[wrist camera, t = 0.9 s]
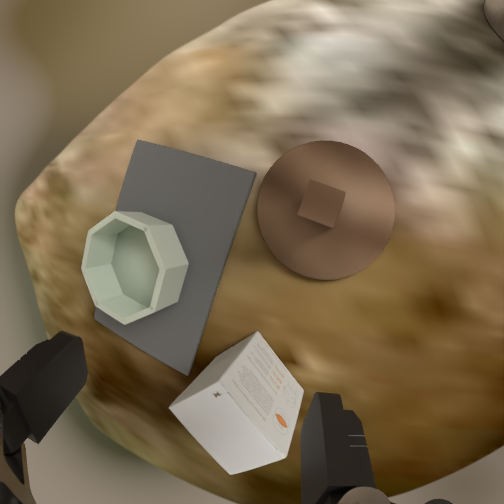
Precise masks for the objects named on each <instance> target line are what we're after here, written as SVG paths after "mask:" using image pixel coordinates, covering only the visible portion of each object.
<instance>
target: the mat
mask: <svg viewBox="0 0 504 504" xmlns="http://www.w3.org/2000/svg"><path fill="white" fill-rule="evenodd" d="M256 174H257V173H255V172H252V171H249V170H246V169H242V168H239V167H236V166H233V165H229V164H226V163H223V162H219V161H216V160H212V159H209V158H206V157H202V156H198V155H195V154H191V153H188V152H184V151H180V150H177V149H173V148H169V147H165V146H161V145H157V144H153V143H149V142H145V141H141V140H137V142H136V145H135V148H134V151H133V154H132V157H131V160H130V163H129V166H128V170H127V173H126V176H125V179H124V183H123V186H122V190H121V193H120V197H119V200H118V204H117V208H116V211H125V212H142V213H145V214H147V215H150V216H152V217H155V218H157V219H159V220H162V221H164V222H167V223H169V224H172V225H173V227H174V229H175V232H176V234H177V237H178V239H179V241H180V244H181V246H182V249H183V251H184V253H185V256H186V258H187V260H188V263H189V265H188V268H187V272H186V275H185V279H184V282H183V285H182V289H181V292H180V296H179V299H178V302H176V303H174V304H172V305H169V306H167V307H165V308H163V309H161V310H159V311H156V312H154V313H152V314H149V315H147V316H145V317H142V318H140V319H138V320H135V321H133V322H130V323H128V324H126V325H124V324H122V323H121V322H119V321H118V320H116V319H114V318H113V317H111V316H110V315H108V314H107V313H105V312H104V311H102V310H101V309H99V308H98V307H96V308H95V315H94V319H95V320H96V321H98V322H99V323H101V324H102V325H104V326H105V327H107V328H108V329H110V330H111V331H113V332H114V333H116V334H117V335H119V336H120V337H122V338H123V339H125V340H127V341H128V342H130V343H131V344H133V345H135V346H136V347H138V348H139V349H141V350H143V351H144V352H146V353H148V354H149V355H151V356H153V357H154V358H156V359H158V360H160V361H161V362H163V363H165V364H167V365H168V366H170V367H172V368H174V369H175V370H177V371H179V372H181V373H183V374H185V375H186V376H188V375H189V374H190V371H191V368H192V365H193V362H194V359H195V356H196V352H197V349H198V346H199V343H200V340H201V337H202V334H203V331H204V327H205V324H206V321H207V318H208V315H209V312H210V309H211V306H212V303H213V300H214V297H215V294H216V291H217V288H218V285H219V282H220V279H221V276H222V273H223V270H224V267H225V264H226V261H227V258H228V255H229V252H230V249H231V246H232V243H233V240H234V237H235V234H236V231H237V228H238V225H239V222H240V220H241V217H242V214H243V211H244V208H245V205H246V202H247V199H248V196H249V194H250V191H251V188H252V185H253V182H254V179H255V176H256ZM118 234H119V233H118ZM111 264H112V263H111ZM147 308H148V307H147Z"/></svg>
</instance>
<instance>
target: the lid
mask: <svg viewBox="0 0 504 504" xmlns="http://www.w3.org/2000/svg"><path fill="white" fill-rule="evenodd" d="M257 215H258V222H259V227H260V230H261V233H262V236H263V238H264V240H265V242H266V244H267V246H268V247H269V249H270V250H271V252H272V253H273V254H274V255H275V257H276V258H277V259H278V260H279V261H280V262H282V263H283V264H284V265H285V266H286V267H288V268H290V269H291V270H293V271H294V272H297V273H299V274H301V275H303V276H307V277H310V278H315V279H322V280H332V279H340V278H344V277H348V276H351V275H353V274H356V273H357V272H359V271H361V270H363V269H364V268H366V267H367V266H369V265H370V264H371V263H372V262H373V261H374V260H375V259H376V258H377V257H378V256H379V255H380V254H381V252H382V251H383V249H384V248H385V246H386V245H387V243H388V240H389V238H390V236H391V233H392V229H393V226H394V219H395V203H394V197H393V193H392V189H391V187H390V184H389V182H388V180H387V178H386V176H385V174H384V172H383V171H382V170H381V168H380V167H379V166H378V165H377V164H376V163H375V162H374V161H373V160H372V158H370V157H369V156H368V155H366V154H365V153H364V152H362V151H360V150H359V149H357V148H355V147H353V146H350V145H348V144H344V143H341V142H335V141H315V142H310V143H306V144H303V145H300V146H298V147H295V148H294V149H292V150H290V151H288V152H287V153H286V154H284V155H283V156H282V157H280V158H279V159H278V160H277V161H276V162H275V163H274V165H273V166H272V167H271V168H270V170H269V171H268V173H267V175H266V176H265V178H264V180H263V183H262V185H261V188H260V192H259V196H258V203H257Z"/></svg>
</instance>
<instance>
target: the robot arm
mask: <svg viewBox="0 0 504 504" xmlns="http://www.w3.org/2000/svg"><path fill="white" fill-rule="evenodd" d="M483 8H484V13H485V16H486V18H487V20H488V22H489V24H490V25H491V27H492V28H493V29H494V31H495V32H496V33H497V34H498V35H499V36H500V37H501V38H502V39H503V41H504V0H485V2H484V5H483ZM86 380H87V366H86V360H85V354H84V348H83V342H82V339H81V338H80V337H78V336H75V335H73V334H70V333H67V332H65V331H60V332H59V333H57V334H56V335H55V336H54V337H53V338H52V339H50V340H46V341H43V342H41V343H39V344H36V345H35V346H34V347H33V348H32V349H30V350H29V351H28V352H27V354H25V355H24V356H22V357H21V358H20V360H18V361H17V362H16V363H15V364H13V365H12V366H11V367H10V368H9V369H8V370H7V371H5V372H4V373H3V374H2V375H1V376H0V504H36V502H35V500H34V498H33V496H32V493H31V489H30V484H29V477H28V468H27V458H26V448H25V444H24V441H25V440H26V439H27V438H29V439H31V440H32V441H34V442H36V443H38V444H39V442H40V441H41V440H42V439H43V437H44V436H45V435H46V433H47V432H48V431H49V429H50V428H51V427H52V426H53V424H54V423H55V422H56V420H57V419H58V418H59V417H60V415H61V414H62V413H63V411H64V410H65V409H66V408H67V406H68V405H69V404H70V403H71V401H72V400H73V399H74V397H75V396H76V395H77V394H78V393H79V391H80V390H81V389H82V388H83V386H84V385H85V383H86ZM366 445H367V444H366V439H365V437H364V431H363V427H362V423H361V421H360V419H359V418H358V417H357V415H356V414H355V413H354V412H353V410H343V405H342V400H341V396H340V395H339V394H333V393H323V392H316V393H315V395H314V397H313V400H312V402H311V405H310V408H309V410H308V413H307V415H306V418H305V420H304V423H303V426H302V431H301V504H395V503H392V502H390V501H389V499H388V498H387V496H386V495H385V494H384V493H382V492H381V491H379V490H377V488H376V485H375V481H374V476H373V471H372V466H371V462H370V457H369V453H368V448H367V447H366ZM425 504H452V503H451V502H449V501H447V500H443V499H434V500H431V501H428V502H427V503H425Z"/></svg>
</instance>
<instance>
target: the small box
mask: <svg viewBox="0 0 504 504" xmlns="http://www.w3.org/2000/svg"><path fill="white" fill-rule="evenodd" d="M303 393H304V390H303V389H302V387H301V386H300V385H299V384H298V382H297V381H296V380H295V379H294V377H293V376H292V375H291V373H290V372H289V371H288V370H287V368H286V367H285V366H284V365H283V363H282V362H281V361H280V359H279V358H278V357H277V355H276V354H275V353H274V352H273V350H272V349H271V348H270V346H269V345H268V344H267V342H266V341H265V340H264V338H263V337H262V336H261V334H260V333H259V332H258V331H256V332H255V333H253V334H252V335H250V336H249V337H247V338H245V339H244V340H242V341H241V342H239V343H237V344H236V345H234V346H233V347H231V348H229V349H228V350H226V351H224V352H223V353H221V354H220V355H218V356H216V357H215V359H214V360H213V361H212V362H211V363H210V364H209V365H208V366H207V367H206V368H205V369H204V370H203V371H202V372H201V373H200V375H199V376H198V377H197V378H196V379H195V380H194V381H193V382H192V383H191V384H190V385H189V386H188V387H187V388H186V389H185V390H184V391H183V392H182V393H181V394H180V395H179V396H178V397H177V398H176V399H175V400H174V402H173V403H172V404H171V405H170V406H169V409H170V410H171V411H172V413H173V414H174V415H175V416H176V417H177V419H178V420H179V421H180V422H181V423H182V424H183V426H184V427H185V428H186V429H187V430H188V431H189V432H190V433H191V435H192V436H193V437H194V438H195V439H196V440H197V441H198V442H199V443H200V445H201V446H202V447H203V448H204V449H205V450H206V451H207V452H208V453H209V454H210V455H211V456H212V457H213V458H214V459H215V460H216V461H217V462H218V463H219V464H220V465H221V466H222V467H223V468H224V469H225V470H226V471H227V472H228V474H230V475H233V474H237V473H240V472H244V471H247V470H251V469H254V468H257V467H260V466H263V465H266V464H269V463H272V462H275V461H278V460H281V459H284V458H286V457H287V453H288V450H289V446H290V443H291V439H292V436H293V432H294V429H295V425H296V421H297V417H298V413H299V409H300V405H301V401H302V397H303Z"/></svg>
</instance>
